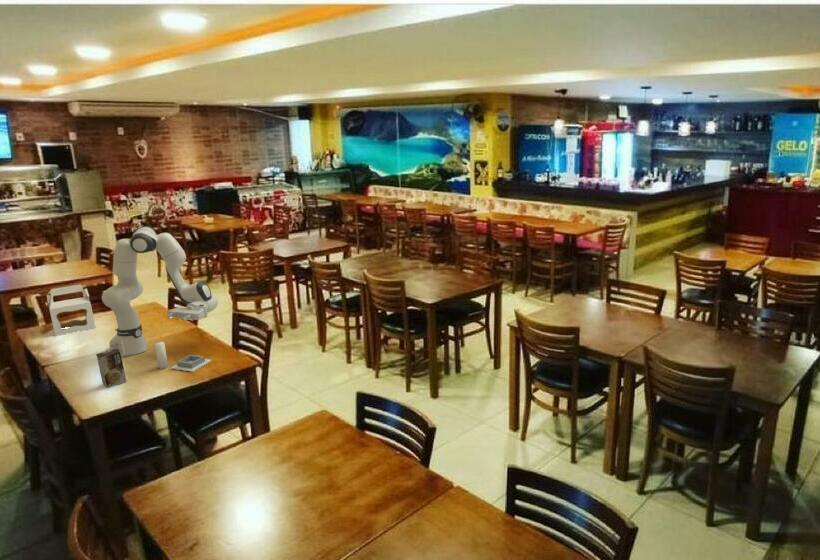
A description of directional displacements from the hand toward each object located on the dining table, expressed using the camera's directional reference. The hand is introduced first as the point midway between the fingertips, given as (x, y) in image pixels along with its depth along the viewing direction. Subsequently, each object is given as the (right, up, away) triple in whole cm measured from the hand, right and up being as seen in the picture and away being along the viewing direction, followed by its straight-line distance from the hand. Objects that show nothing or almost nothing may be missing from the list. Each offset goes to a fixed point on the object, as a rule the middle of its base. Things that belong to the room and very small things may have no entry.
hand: (175, 318), depth 292 cm
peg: (-4, -25, -6) cm, 26 cm away
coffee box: (-20, -30, -22) cm, 42 cm away
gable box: (-87, -11, +57) cm, 105 cm away
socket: (+10, -24, -5) cm, 27 cm away
